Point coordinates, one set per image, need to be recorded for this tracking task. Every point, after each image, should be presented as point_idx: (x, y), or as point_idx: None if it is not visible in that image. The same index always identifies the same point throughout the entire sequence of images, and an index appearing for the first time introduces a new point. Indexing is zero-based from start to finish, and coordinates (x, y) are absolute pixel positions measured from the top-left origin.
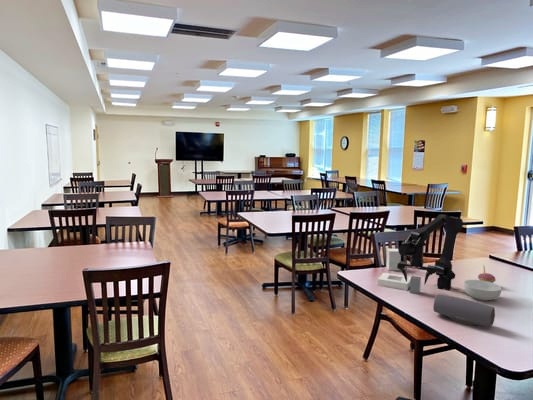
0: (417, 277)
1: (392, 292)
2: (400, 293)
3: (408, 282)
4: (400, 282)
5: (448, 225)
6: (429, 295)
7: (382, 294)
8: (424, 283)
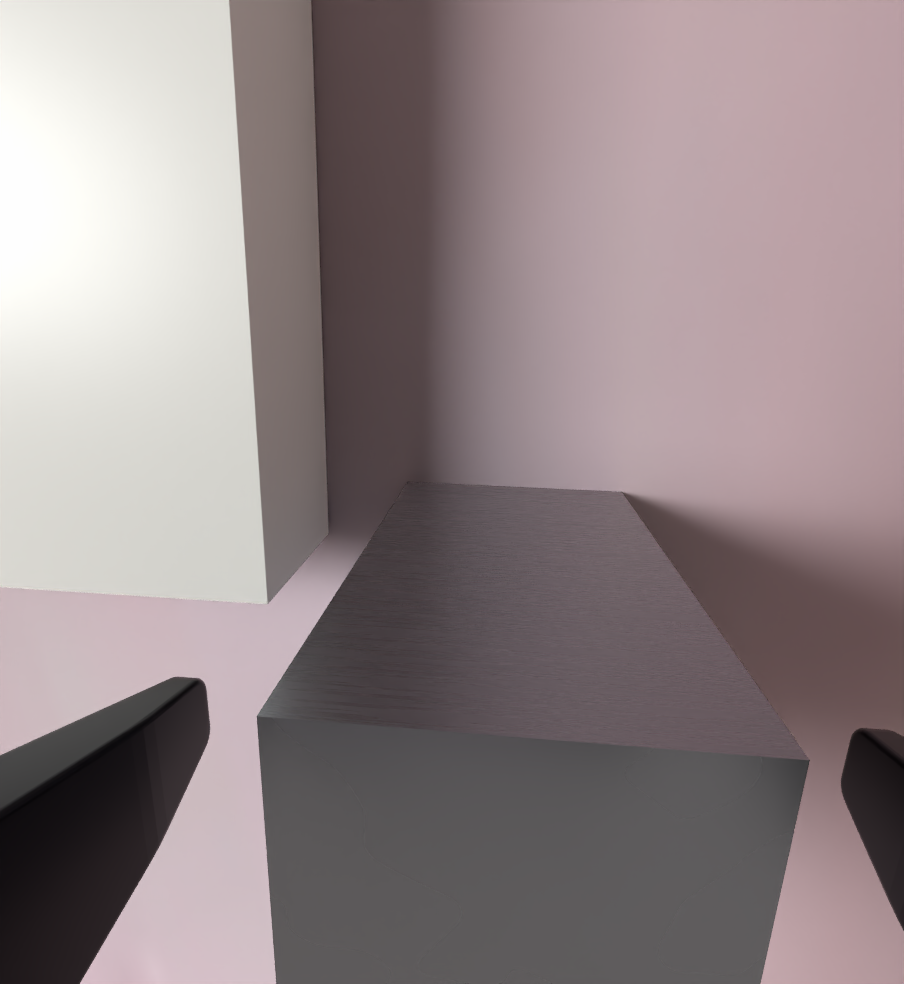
0: (598, 893)
1: None
2: (250, 790)
3: (252, 445)
4: (43, 566)
5: None
6: (844, 658)
7: None
8: (868, 849)
